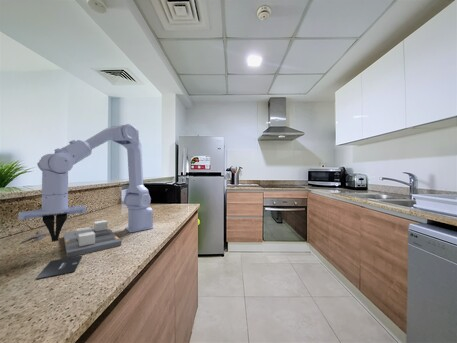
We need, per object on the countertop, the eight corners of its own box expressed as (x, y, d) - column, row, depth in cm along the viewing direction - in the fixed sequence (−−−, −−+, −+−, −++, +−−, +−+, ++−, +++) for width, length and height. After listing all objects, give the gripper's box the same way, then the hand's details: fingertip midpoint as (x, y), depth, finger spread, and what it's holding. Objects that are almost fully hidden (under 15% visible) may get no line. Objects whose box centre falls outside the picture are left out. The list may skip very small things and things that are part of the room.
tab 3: (105, 227, 79) (105, 220, 79) (107, 229, 76) (107, 221, 76) (94, 229, 76) (94, 221, 76) (95, 231, 74) (95, 223, 74)
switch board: (107, 229, 81) (107, 225, 81) (121, 245, 65) (121, 240, 65) (63, 237, 72) (63, 233, 72) (67, 257, 55) (67, 252, 55)
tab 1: (90, 235, 70) (90, 226, 70) (91, 237, 67) (91, 228, 67) (76, 237, 67) (76, 228, 67) (77, 240, 64) (77, 231, 64)
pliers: (71, 224, 88) (57, 237, 70) (71, 226, 88) (57, 240, 70) (42, 227, 83) (20, 242, 65) (42, 229, 83) (20, 244, 65)
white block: (93, 240, 64) (93, 231, 64) (95, 243, 62) (95, 233, 62) (78, 243, 61) (78, 234, 61) (79, 246, 59) (79, 236, 59)
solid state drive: (82, 257, 56) (82, 255, 56) (74, 274, 47) (74, 271, 47) (50, 263, 53) (50, 260, 53) (35, 281, 44) (35, 278, 44)
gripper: (84, 191, 64) (83, 232, 64) (20, 194, 55) (20, 242, 54) (87, 193, 59) (86, 237, 59) (17, 197, 49) (16, 250, 49)
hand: (54, 240), depth 56 cm, fingers closed
